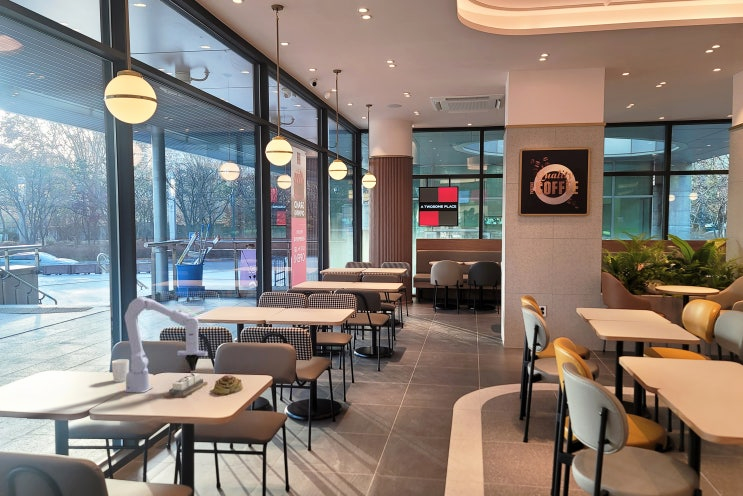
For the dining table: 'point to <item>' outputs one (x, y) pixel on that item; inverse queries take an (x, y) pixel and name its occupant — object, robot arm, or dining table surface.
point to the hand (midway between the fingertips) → (192, 370)
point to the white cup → (120, 369)
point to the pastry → (227, 385)
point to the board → (186, 390)
